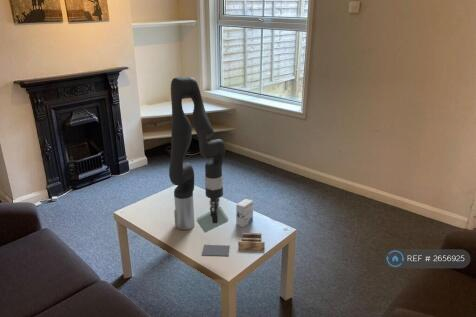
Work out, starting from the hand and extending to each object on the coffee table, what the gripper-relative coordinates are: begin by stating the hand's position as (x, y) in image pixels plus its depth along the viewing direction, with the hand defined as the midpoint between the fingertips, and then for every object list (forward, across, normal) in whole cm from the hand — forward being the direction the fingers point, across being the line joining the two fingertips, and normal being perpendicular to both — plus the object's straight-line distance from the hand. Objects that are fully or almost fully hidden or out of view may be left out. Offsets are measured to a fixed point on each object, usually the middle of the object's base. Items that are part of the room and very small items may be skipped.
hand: (215, 221), depth 168 cm
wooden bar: (+16, -2, +16) cm, 22 cm away
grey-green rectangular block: (+2, 0, -6) cm, 7 cm away
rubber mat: (+15, 0, 0) cm, 15 cm away
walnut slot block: (+15, -9, +16) cm, 24 cm away
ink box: (+15, -26, +12) cm, 33 cm away
